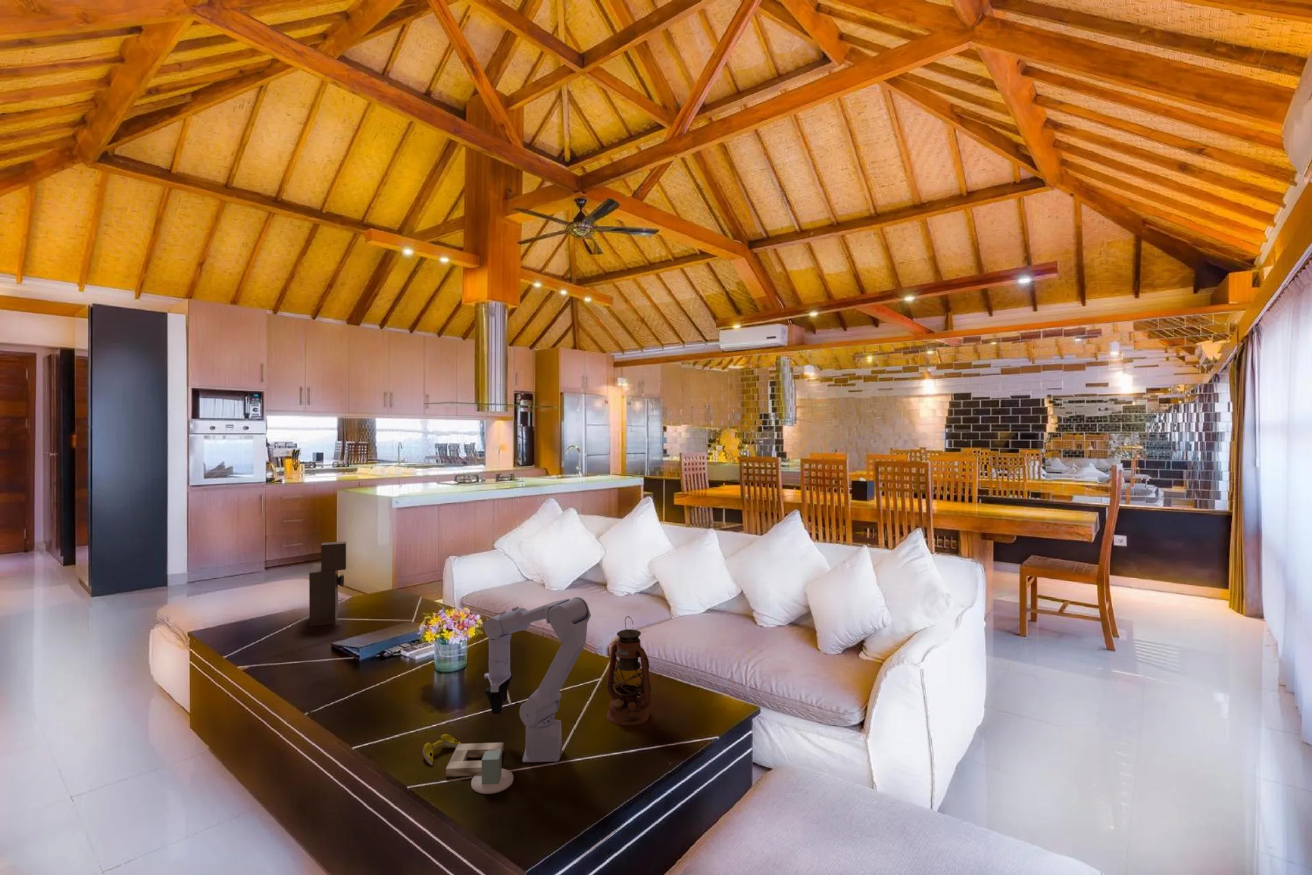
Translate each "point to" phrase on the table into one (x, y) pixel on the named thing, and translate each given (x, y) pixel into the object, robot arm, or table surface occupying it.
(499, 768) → the block
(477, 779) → the coaster
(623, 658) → the lantern
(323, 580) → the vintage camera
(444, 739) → the game controller
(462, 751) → the board
